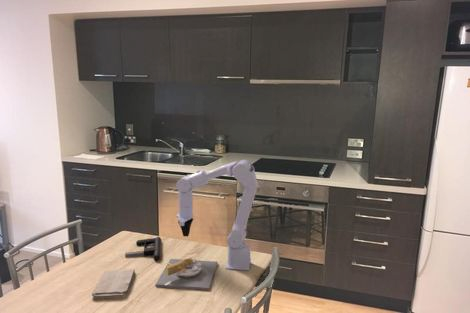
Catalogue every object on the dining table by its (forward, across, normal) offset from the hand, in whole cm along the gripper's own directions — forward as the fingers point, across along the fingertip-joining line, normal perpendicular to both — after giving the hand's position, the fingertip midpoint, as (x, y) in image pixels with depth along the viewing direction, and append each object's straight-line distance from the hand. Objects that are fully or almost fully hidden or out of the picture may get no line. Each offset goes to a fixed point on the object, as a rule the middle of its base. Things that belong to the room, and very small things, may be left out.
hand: (186, 235), depth 150 cm
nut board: (+10, +13, +4) cm, 17 cm away
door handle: (+11, -4, -20) cm, 23 cm away
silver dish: (+9, +15, +2) cm, 17 cm away
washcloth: (+11, +24, -21) cm, 34 cm away
